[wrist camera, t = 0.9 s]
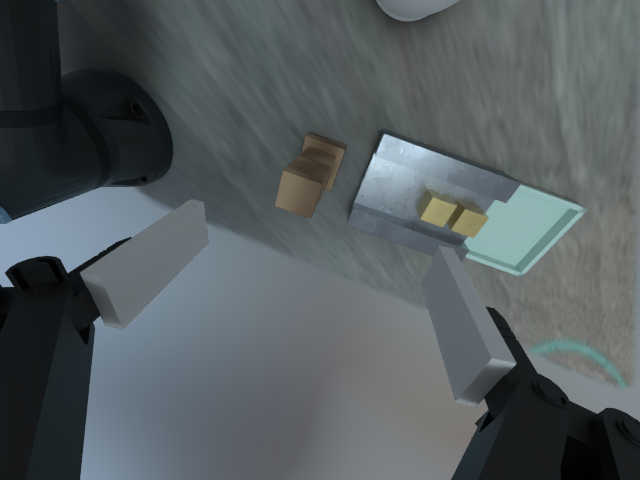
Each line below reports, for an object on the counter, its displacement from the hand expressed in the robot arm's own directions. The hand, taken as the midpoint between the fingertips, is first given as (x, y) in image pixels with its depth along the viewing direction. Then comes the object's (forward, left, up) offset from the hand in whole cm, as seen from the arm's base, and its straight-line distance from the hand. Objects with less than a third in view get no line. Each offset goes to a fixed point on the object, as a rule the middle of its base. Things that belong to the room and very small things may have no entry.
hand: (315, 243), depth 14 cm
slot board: (+11, -2, -23) cm, 25 cm away
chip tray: (+24, -2, -23) cm, 33 cm away
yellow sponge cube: (+16, -2, -21) cm, 27 cm away
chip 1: (+12, -2, -21) cm, 24 cm away
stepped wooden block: (-3, -2, -23) cm, 23 cm away
